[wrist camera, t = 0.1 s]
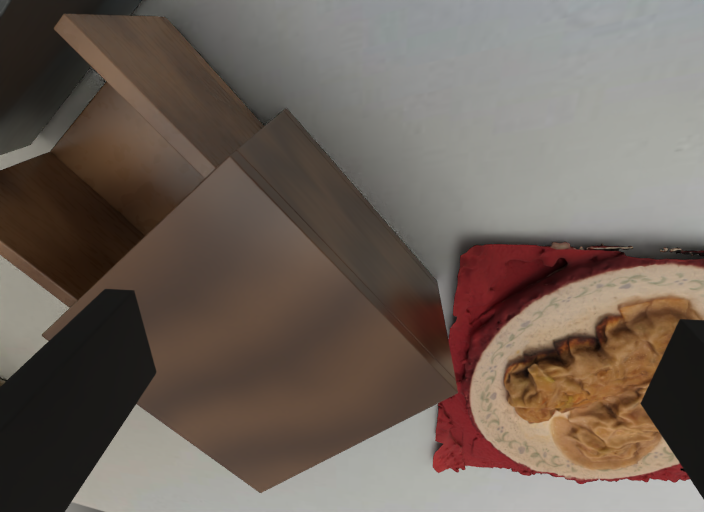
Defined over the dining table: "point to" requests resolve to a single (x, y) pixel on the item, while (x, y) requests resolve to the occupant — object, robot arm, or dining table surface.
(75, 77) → the drawer
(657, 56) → the dining table surface
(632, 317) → the plate with food
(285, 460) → the cabinet
